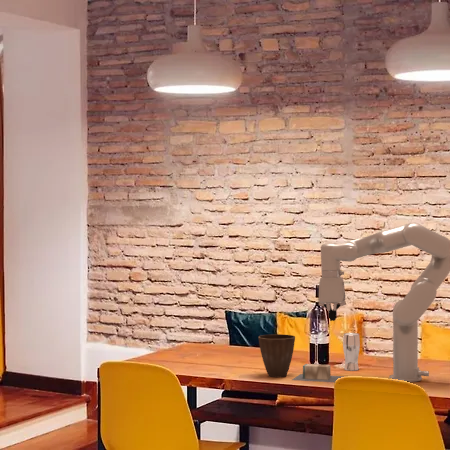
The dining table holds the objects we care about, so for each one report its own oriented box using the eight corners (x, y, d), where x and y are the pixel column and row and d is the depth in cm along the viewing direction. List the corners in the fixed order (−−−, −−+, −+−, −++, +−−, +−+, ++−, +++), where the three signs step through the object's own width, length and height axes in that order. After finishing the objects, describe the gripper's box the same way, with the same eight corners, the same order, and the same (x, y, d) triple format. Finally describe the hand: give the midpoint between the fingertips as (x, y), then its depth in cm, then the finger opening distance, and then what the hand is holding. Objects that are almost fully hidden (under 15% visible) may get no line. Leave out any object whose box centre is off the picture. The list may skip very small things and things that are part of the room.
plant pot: (251, 376, 398) (251, 337, 398) (270, 371, 410) (270, 333, 410) (283, 380, 390) (283, 339, 389) (302, 374, 402) (301, 335, 402)
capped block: (330, 365, 391) (305, 363, 395) (327, 367, 387) (302, 365, 390) (330, 377, 391) (306, 376, 395) (327, 379, 387) (302, 378, 390)
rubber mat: (353, 378, 393) (353, 376, 393) (346, 384, 380) (346, 382, 380) (300, 375, 400) (300, 374, 400) (291, 381, 387) (291, 380, 387)
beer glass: (346, 371, 409) (346, 335, 409) (341, 368, 416) (340, 333, 416) (362, 370, 411) (362, 334, 410) (356, 367, 418) (356, 332, 417)
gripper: (351, 273, 393) (352, 319, 394) (314, 274, 398) (316, 319, 398) (348, 274, 386) (349, 321, 387) (310, 275, 391) (312, 321, 391)
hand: (332, 320), depth 392 cm, fingers closed
